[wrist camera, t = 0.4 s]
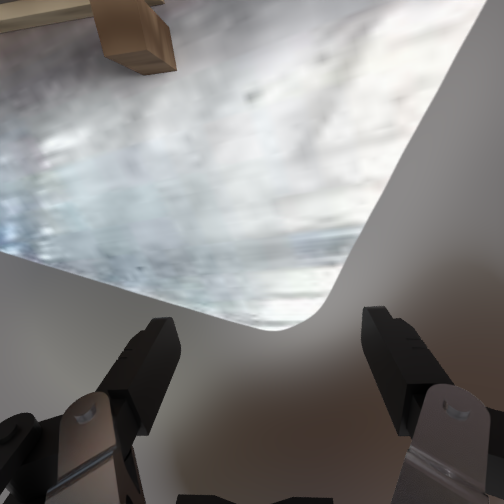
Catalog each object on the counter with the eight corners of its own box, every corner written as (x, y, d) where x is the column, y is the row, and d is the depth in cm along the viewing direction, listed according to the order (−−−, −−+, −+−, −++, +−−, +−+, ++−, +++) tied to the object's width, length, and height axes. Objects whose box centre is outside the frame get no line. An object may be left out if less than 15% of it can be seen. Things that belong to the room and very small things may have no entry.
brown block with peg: (132, 22, 29) (85, -16, 22) (167, 16, 29) (131, -25, 21) (144, 75, 31) (104, 56, 24) (177, 70, 31) (147, 49, 23)
